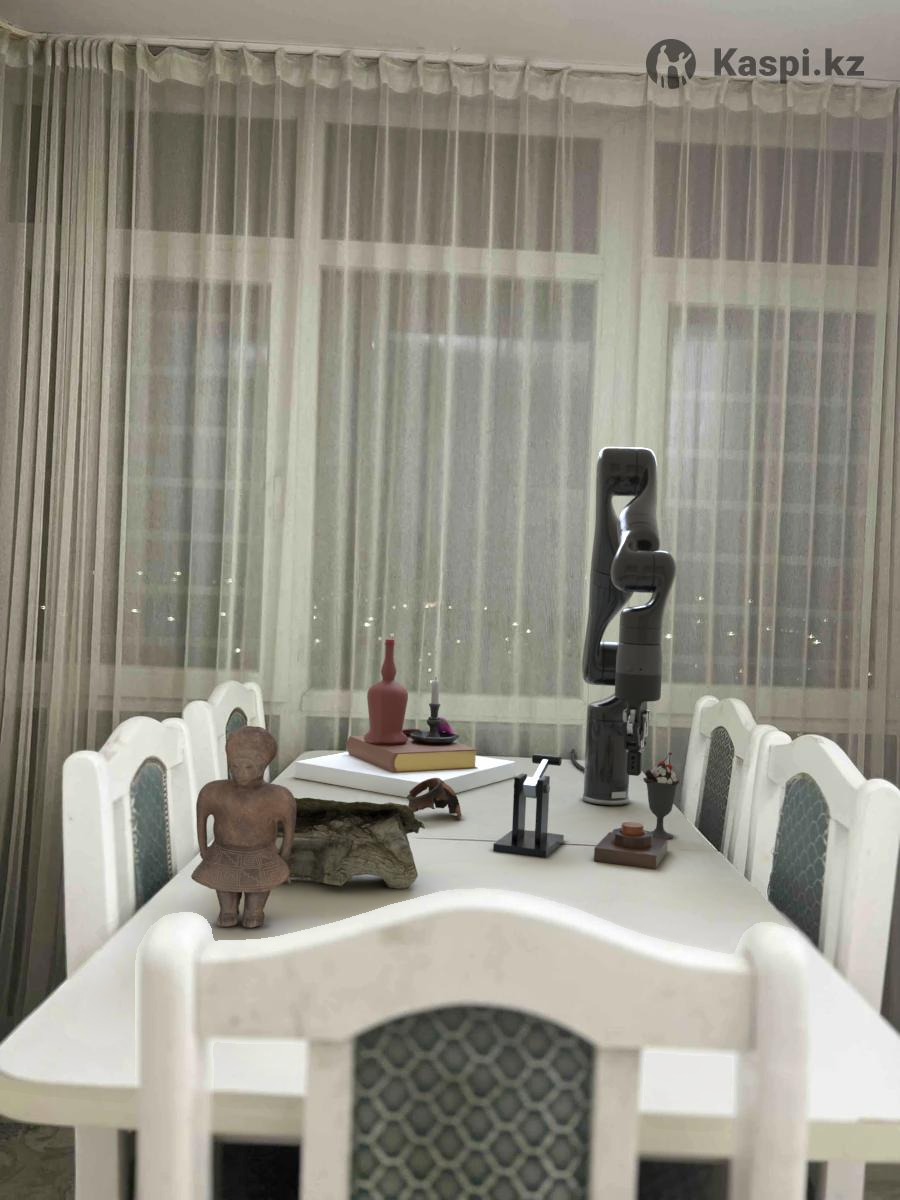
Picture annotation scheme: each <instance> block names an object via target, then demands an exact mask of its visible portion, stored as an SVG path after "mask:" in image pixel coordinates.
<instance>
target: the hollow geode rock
mask: <svg viewBox="0 0 900 1200" xmlns="http://www.w3.org/2000/svg"><path fill="white" fill-rule="evenodd" d="M294 798H295V801H296V824H295V832H294V841H293V845H292V849H291V853H290V855H289V859H288V861H287V862H286V864H287V866H288V867H289V870H290V875H289V876H290V878H291V879H293V878H294V879H299V880H307V879H309V880H311V881H312V882H315V883H324V884H327V885H334V886H340V887H342V886H343V885H344V884H345V883H346V882H347V881H348V880H350V879H352V878H353V877H357V876H365V875H366V876H367V875H369V876H374V877H379V878H381V879H382V880H383V881H384V882H385V885H386V887H388V888H390V889H391V888H392V889H407V888H410V887H411V886H412V885H413V884H414V883H415V882H416V881H417V878H418V876H419V875H418V871H417V867H416V864H415V858H414V855H413V852H412V848H411V845H410V840H409V837H408V834H412V833H415V834H419V832H420V829H423V830H426V826H425V824H424V823H423V822H421V821H419V820H418V819H417V818H416V816H415V813H417V811H415V809H414V808H411V807H410V806H408V805H407V804H400V803H395V802H386V803H375V802H370V801H351V802H347V801H340V800H339V801H337V800H333V799H323V798H321V799H320V798H314V797H301V798H300V797H299V798H297V797H294ZM283 835H284V826H283V823H282V822H281V821H280V822H279V826H278V835H277V839H276V846H277V848H278V850H279V852H280V851H281V848H282V840H283Z"/></svg>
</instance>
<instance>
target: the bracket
mask: <svg viewBox="0 0 900 1200" xmlns="http://www.w3.org/2000/svg"><path fill="white" fill-rule="evenodd" d="M527 777H528V774H527V773H520V774H518V775H517V776H516V775H515V777H513V778H514V780H513V804H512V823H511V824H512V825H511V826H512V827H511V830H510V831H508V833H506V834H505V835H503V836H502V837H501V838H499V839H498V840H497V841H495V842H493V848H492V849H493V850H492V851H493V852H498V853H499V852H500V853H506V854H507V853H508V854H515V855H521V856H530V857H537V858H545V859H546V858H547V857H548V856H549V855H551V853H553V852H554V851H555V850H556V849H558V848H559V846H561V844H563V843H564V842H565V839H564V838H565V835H564V834H559V833H553V832H552V833H551V832H548V826H549V824H548V823H549V806H550V805H549V802H550V791H551V786H550V782H551V781H550V780H551V778H550V777H551V776H549V775H543V776H542V778H540V779H538V780H537V798H536V804H535V825H534V826H535V828H534V830H527V829H526V807H527V806H526V805H527V797H524V794H523V784H524V782H525V780H526V778H527Z"/></svg>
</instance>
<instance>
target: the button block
mask: <svg viewBox="0 0 900 1200" xmlns="http://www.w3.org/2000/svg"><path fill="white" fill-rule="evenodd" d="M621 830H622V827H619V828H613V829H612V831H609V832H608V833H607V834H606V835H605V836H604V837H603V838H602V839H601V840H600V841H599V842H598V843H597V844H596V845H595V847H594V849H593V851H594V853H593V861H594V862H599V863H606V864H615V865H622V866H630V867H638V868H645V869H653V870H657V868H658V866H659V865H660V863H661V862H662V860H663V859H664V858H665V856H666V854H667V852H668V843H669V842H668V841H669V839H662V838H654V837H653V834H652V833H651V832H652V831H650V830H647V829H644V832H643V835H641V836H633V835H626V834H622V833H621Z"/></svg>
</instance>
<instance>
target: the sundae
mask: <svg viewBox="0 0 900 1200" xmlns="http://www.w3.org/2000/svg"><path fill="white" fill-rule="evenodd" d="M672 755H673V753H672V752H668V754H667V756H666V758H665V759H663V760H661V761H659V762H658V764H656V765H654V766H653V767H652V768H651V769H647V770H646V771H644V775H645V777H643V778H642V780H643V782H644V783H645V784H646V789H647V799H648V800H647V802H648V807H649V810H650V811H651V814H653V815H654V816H655V817H656V824H655V825H656V826H655V828H654V830H652V831H650V832H651V833H652V834H653V837H654V838H662V839H668V840H671V839H673V838H674V835H673V834H672V833H668V832H667V831H666V830H665V828H664V818H665V817H666V816H668V815H669V814H670V813H671V812H672V809H673V806H674V801H675V796H676V790H677V786H678V785H679V784H680V783H681V782H682V781H681V780H679V779H678V778H677V775H676V773H675V772H674V771H673V767H674V766H673V765H672V764H671V756H672ZM667 759H668V763H669V764H666V762H665V761H666V760H667Z"/></svg>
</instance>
